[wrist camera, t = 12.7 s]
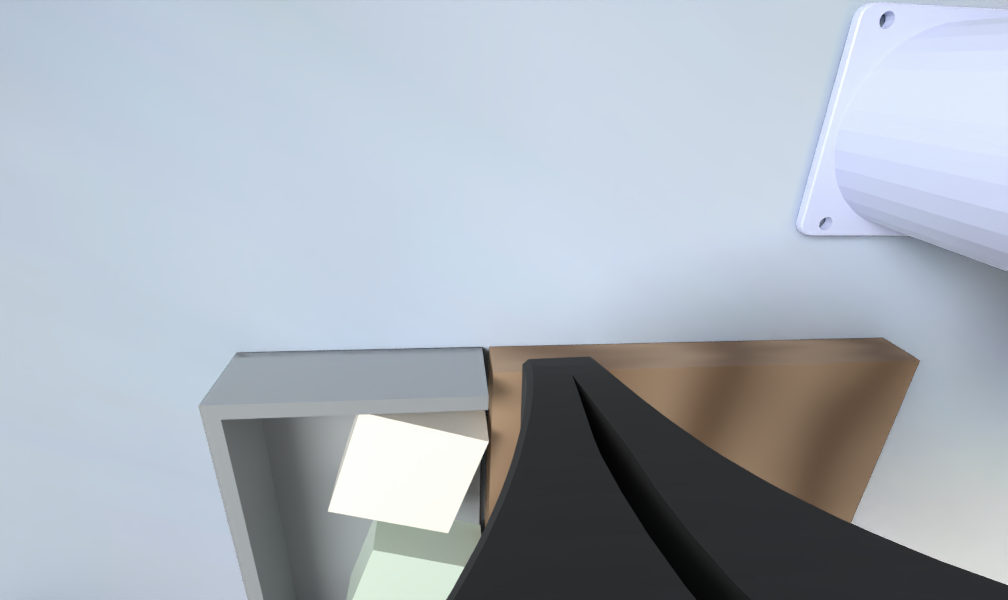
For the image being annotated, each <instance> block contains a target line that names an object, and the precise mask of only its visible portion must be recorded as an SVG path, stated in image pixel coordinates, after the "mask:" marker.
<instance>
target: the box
mask: <svg viewBox="0 0 1008 600" xmlns="http://www.w3.org/2000/svg"><path fill="white" fill-rule="evenodd" d="M488 401H489V395H488V388H487V380H486V373H485V366H484V358H483V351H482V347H461V348H418V349H374V350H331V351H288V352H244V353H236V354H235V356H234V357H233V358H232V360H231V361H230V363H229V364H228V365H227V367H226V368H225V370H224V371H223V372H222V374H221V375H220V377H219V378H218V379H217V381H216V382H215V383H214V385H213V386H212V388H211V389H210V390H209V392H208V393H207V395H206V396H205V397H204V399H203V400H202V402H201V403H200V404H199V410H200V414H201V418H202V422H203V426H204V430H205V433H206V437H207V441H208V445H209V449H210V453H211V457H212V461H213V465H214V469H215V473H216V477H217V480H218V484H219V488H220V492H221V496H222V500H223V504H224V508H225V512H226V516H227V520H228V524H229V528H230V531H231V535H232V539H233V543H234V547H235V551H236V555H237V559H238V563H239V567H240V571H241V575H242V579H243V582H244V586H245V590H246V594H247V598H248V600H346V598H347V593H348V587H349V582H350V576H351V574H352V571H353V569H354V566H355V564H356V561H357V559H358V556H359V554H360V551H361V549H362V546H363V544H364V542H365V539H366V537H367V534H368V532H369V529H370V527H371V524H372V522H373V520H372V519H367V518H361V517H356V516H350V515H345V514H339V513H334V512H328V508H329V504H330V501H331V497H332V493H333V489H334V485H335V481H336V478H337V474H338V470H339V466H340V463H341V460H342V457H343V454H344V450H345V447H346V444H347V441H348V438H349V435H350V432H351V428H352V425H353V422H354V419H355V416H356V415H364V414H392V413H419V412H446V411H473V410H488ZM479 509H480V463H479V465H478V467H477V470H476V472H475V474H474V476H473V479H472V481H471V483H470V485H469V488H468V490H467V492H466V494H465V496H464V499H463V501H462V503H461V505H460V508H459V510H458V512H457V514H456V517H455V520H459V521H464V522H469V523H474V524H479Z"/></svg>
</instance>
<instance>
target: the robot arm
mask: <svg viewBox="0 0 1008 600" xmlns="http://www.w3.org/2000/svg"><path fill="white" fill-rule="evenodd" d="M883 14H885V17H886V18H885V23H884V25H883V26H882V27H881V26H880V24H879V23H880V18H881V16H882V15H883ZM824 218H825V223H824V224H823V225H822V226H821V227H819V224H820V222H821V220H822V219H824ZM796 227H797V230H798V231H799V232H801V233H803V234H805V235H809V236H911V237H914V238H917V239H919V240H922V241H925V242H927V243H930V244H933V245H936V246H938V247H941V248H944V249H947V250H949V251H952V252H955V253H958V254H960V255H963V256H966V257H968V258H971V259H974V260H977V261H979V262H982V263H985V264H988V265H990V266H993V267H996V268H998V269H1001V270H1004V271H1007V272H1008V10H1007V9H990V8H972V7H954V6H937V5H919V4H901V3H883V2H875V3H869V4H864V5H863V6H861V7H860V8H859V9H858V10H857V11H856V12H855V14H854V16H853V19H852V22H851V25H850V29H849V33H848V36H847V40H846V43H845V47H844V51H843V54H842V58H841V62H840V65H839V69H838V72H837V76H836V80H835V83H834V87H833V90H832V94H831V98H830V101H829V105H828V109H827V112H826V116H825V119H824V123H823V127H822V130H821V134H820V138H819V141H818V145H817V148H816V152H815V156H814V159H813V163H812V167H811V170H810V174H809V177H808V181H807V185H806V188H805V192H804V196H803V199H802V203H801V206H800V210H799V214H798V217H797V221H796ZM446 600H1008V585H1005V584H1003V583H1000V582H997V581H994V580H992V579H989V578H986V577H983V576H980V575H978V574H975V573H972V572H969V571H967V570H964V569H961V568H958V567H956V566H953V565H950V564H947V563H944V562H942V561H939V560H937V559H934V558H932V557H929V556H926V555H924V554H922V553H919V552H917V551H914V550H912V549H910V548H907V547H905V546H902V545H900V544H898V543H895V542H893V541H890V540H888V539H886V538H883V537H881V536H878V535H876V534H874V533H871V532H869V531H867V530H865V529H862V528H860V527H858V526H856V525H854V524H851V523H849V522H847V521H845V520H842V519H840V518H838V517H836V516H834V515H832V514H830V513H828V512H826V511H824V510H822V509H820V508H818V507H816V506H814V505H812V504H809V503H807V502H805V501H803V500H801V499H799V498H797V497H795V496H793V495H791V494H789V493H787V492H785V491H784V490H782V489H780V488H778V487H776V486H774V485H772V484H770V483H769V482H767V481H765V480H763V479H761V478H760V477H758V476H756V475H755V474H753V473H751V472H749V471H748V470H746V469H744V468H743V467H741V466H739V465H737V464H736V463H734V462H732V461H731V460H729V459H727V458H726V457H724V456H722V455H721V454H719V453H718V452H716V451H714V450H713V449H711V448H710V447H708V446H707V445H705V444H704V443H702V442H701V441H699V440H698V439H696V438H695V437H694V436H692V435H691V434H689V433H688V432H686V431H685V430H683V429H682V428H680V427H679V426H678V425H676V424H675V423H673V422H672V421H671V420H669V419H668V418H667V417H665V416H664V415H663V414H661V413H660V412H659V411H657V410H656V409H655V408H653V407H652V406H651V405H650V404H648V403H647V402H646V401H644V400H643V399H642V398H641V397H639V396H638V395H637V394H636V393H634V392H633V391H632V390H631V389H629V388H628V387H627V386H626V385H625V384H623V383H622V382H621V381H620V380H618V379H617V378H616V377H615V376H614V375H612V374H611V373H610V372H609V371H608V370H606V369H605V368H604V367H603V366H602V365H600V364H599V363H598V362H597V361H595V360H594V359H593V358H591V357H590V356H589V357H565V358H541V359H528V360H527V361H526V362H525V363H523V364H522V394H521V425H520V433H519V437H518V440H517V444H516V448H515V452H514V455H513V459H512V462H511V465H510V468H509V471H508V474H507V477H506V479H505V482H504V484H503V487H502V490H501V492H500V495H499V497H498V500H497V502H496V504H495V507H494V509H493V511H492V513H491V516H490V518H489V520H488V523H487V525H486V527H485V529H484V531H483V533H482V535H481V537H480V539H479V541H478V543H477V545H476V547H475V549H474V551H473V553H472V554H471V556H470V558H469V560H468V562H467V564H466V565H465V567H464V569H463V571H462V573H461V574H460V576H459V578H458V580H457V582H456V584H455V585H454V587H453V589H452V591H451V592H450V594H449V596H448V597H447V599H446Z"/></svg>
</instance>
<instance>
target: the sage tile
mask: <svg viewBox="0 0 1008 600" xmlns="http://www.w3.org/2000/svg"><path fill="white" fill-rule="evenodd" d="M480 537H481V527H480V525H479V524H474V523H469V522H464V521H459V520H455V519H454V521H453V523H452V526H451V528H450V530H449V532H448V533H444V532H438V531H433V530H427V529H422V528H416V527H411V526H405V525H400V524H394V523H389V522H383V521H378V520H373V522H372V524H371V527H370V529H369V532H368V534H367V537H366V539H365V542H364V544H363V546H362V549H361V551H360V554H359V556H358V559H357V561H356V564H355V566H354V569H353V571H352V574H351V576H350V582H349V587H348V593H347V598H346V600H446V599H447V597H448V596H449V594H450V592H451V591H452V589H453V587H454V585H455V584H456V582H457V580H458V578H459V576H460V574H461V573H462V571H463V569H464V567H465V565H466V564H467V562H468V560H469V558H470V556H471V554H472V553H473V551H474V549H475V547H476V545H477V543H478V541H479V539H480Z"/></svg>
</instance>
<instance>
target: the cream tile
mask: <svg viewBox="0 0 1008 600" xmlns="http://www.w3.org/2000/svg"><path fill="white" fill-rule="evenodd" d="M488 443H489V439H488V430H487V422H486V414H485V410H473V411H446V412H419V413H392V414H364V415H356V416H355V419H354V422H353V425H352V428H351V432H350V435H349V438H348V441H347V444H346V447H345V450H344V454H343V457H342V460H341V463H340V466H339V470H338V474H337V478H336V481H335V485H334V489H333V493H332V497H331V501H330V504H329V508H328V512H334V513H339V514H345V515H350V516H356V517H361V518H367V519H372V520H378V521H383V522H389V523H394V524H400V525H405V526H411V527H416V528H422V529H427V530H433V531H438V532H444V533H448V532H449V530H450V528H451V526H452V523H453V521H454V519H455V517H456V514H457V512H458V510H459V508H460V505H461V503H462V501H463V499H464V496H465V494H466V492H467V490H468V488H469V485H470V483H471V481H472V479H473V476H474V474H475V472H476V470H477V467H478V465H479V463H480V461H481V458H482V456H483V454H484V452H485V449H486V447H487V445H488Z"/></svg>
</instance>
